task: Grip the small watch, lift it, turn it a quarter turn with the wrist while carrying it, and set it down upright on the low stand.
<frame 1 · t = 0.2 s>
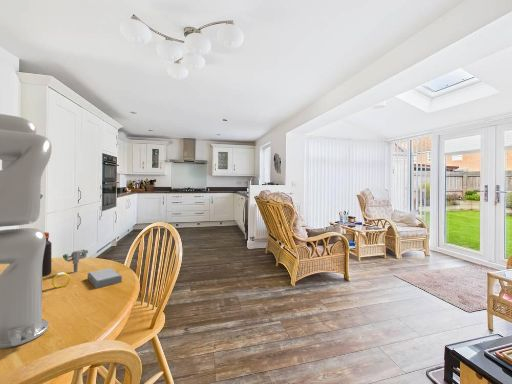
hand: (15, 214, 100), 31 cm above the table, tool pointing down, fingers open, 9 cm apart
bottle: (42, 275, 114), on the table
mechanical component: (75, 272, 119), on the table
stand: (104, 280, 110), on the table
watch: (61, 287, 102), on the table
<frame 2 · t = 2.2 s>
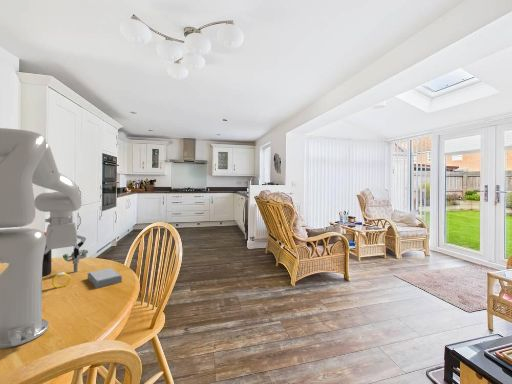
hand: (61, 259, 102), 11 cm above the table, tool pointing down, fingers open, 9 cm apart
nothing on the table moved.
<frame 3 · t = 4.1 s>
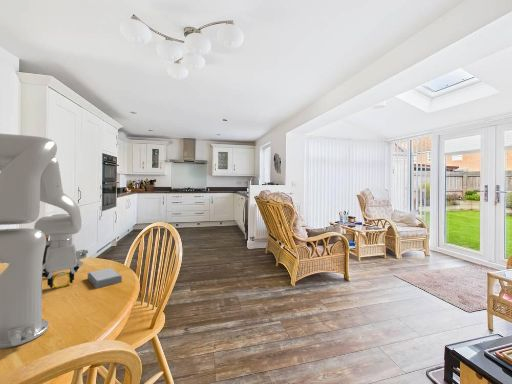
hand: (61, 283, 102), 1 cm above the table, tool pointing down, fingers closed on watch, 6 cm apart
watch: (61, 287, 102), on the table, touching gripper
everything else where it was.
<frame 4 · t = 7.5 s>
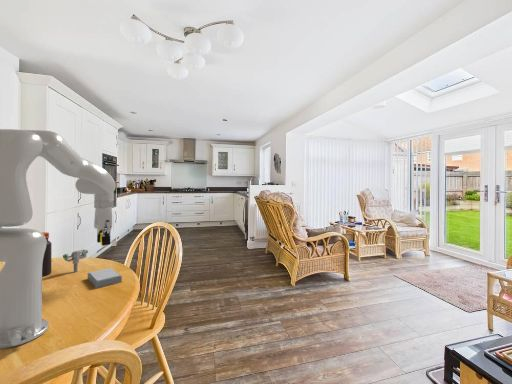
hand: (103, 243, 109), 18 cm above the table, tool pointing down, fingers closed on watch, 6 cm apart
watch: (103, 245, 109), point 16 cm above the table, touching gripper
everything else where it was.
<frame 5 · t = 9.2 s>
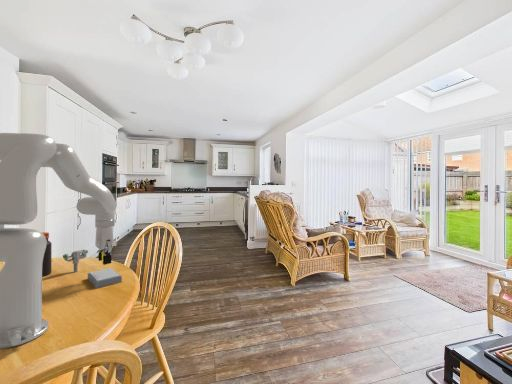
hand: (104, 261, 110), 9 cm above the table, tool pointing down, fingers closed on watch, 6 cm apart
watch: (104, 264, 110), point 7 cm above the table, touching gripper
everything else where it was.
when the fingers open (5 cm above the table, at t = 10.8 s): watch stays where it is, resting on stand.
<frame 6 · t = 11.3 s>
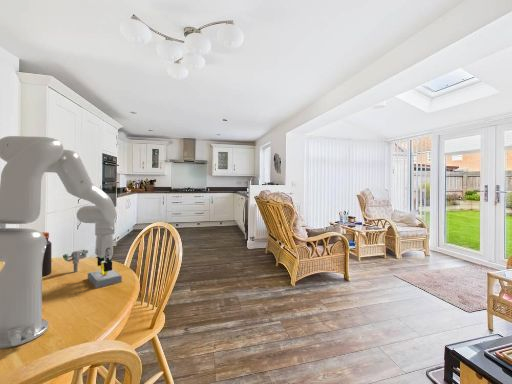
hand: (104, 267, 110), 6 cm above the table, tool pointing down, fingers open, 9 cm apart
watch: (104, 274, 110), point 3 cm above the table, touching stand
everything else where it was.
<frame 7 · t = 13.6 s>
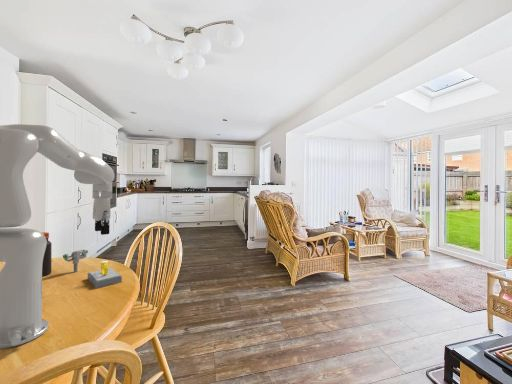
hand: (101, 232, 109), 22 cm above the table, tool pointing down, fingers open, 9 cm apart
nothing on the table moved.
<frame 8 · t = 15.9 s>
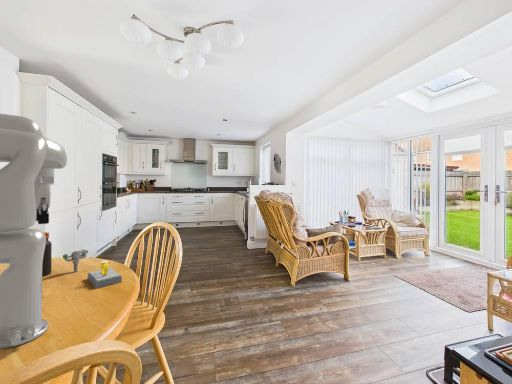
hand: (41, 222, 98), 28 cm above the table, tool pointing down, fingers open, 9 cm apart
nothing on the table moved.
at the end: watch inside the target area on the stand (0.1 cm from its centre), point 2.8 cm above the stand's base; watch tilted 0°; the gripper is holding nothing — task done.
